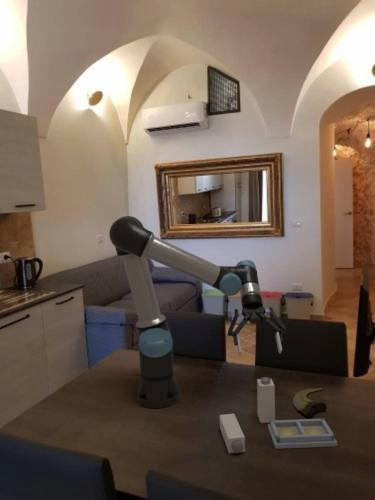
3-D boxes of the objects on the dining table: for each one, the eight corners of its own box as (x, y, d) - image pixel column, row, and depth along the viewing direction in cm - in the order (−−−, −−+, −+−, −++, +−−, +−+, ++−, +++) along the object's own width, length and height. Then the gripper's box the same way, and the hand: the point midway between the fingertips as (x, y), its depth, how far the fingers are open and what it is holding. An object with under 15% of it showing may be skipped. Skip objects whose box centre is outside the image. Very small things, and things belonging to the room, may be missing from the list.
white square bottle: (260, 422, 120) (259, 382, 118) (257, 414, 124) (257, 376, 123) (275, 422, 120) (274, 382, 118) (271, 414, 124) (271, 375, 123)
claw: (328, 421, 120) (328, 410, 119) (294, 419, 122) (294, 408, 122) (320, 391, 139) (320, 382, 139) (291, 390, 141) (291, 381, 141)
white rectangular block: (219, 428, 118) (219, 415, 117) (234, 427, 118) (234, 413, 118) (229, 456, 105) (229, 441, 105) (246, 454, 106) (245, 439, 105)
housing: (275, 448, 107) (275, 439, 107) (267, 427, 117) (267, 419, 117) (337, 446, 107) (337, 437, 107) (324, 425, 117) (324, 417, 117)
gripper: (283, 301, 146) (295, 355, 133) (217, 305, 147) (222, 359, 134) (286, 290, 141) (299, 345, 128) (217, 294, 141) (223, 350, 128)
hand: (260, 352), depth 130 cm, fingers open, 13 cm apart
